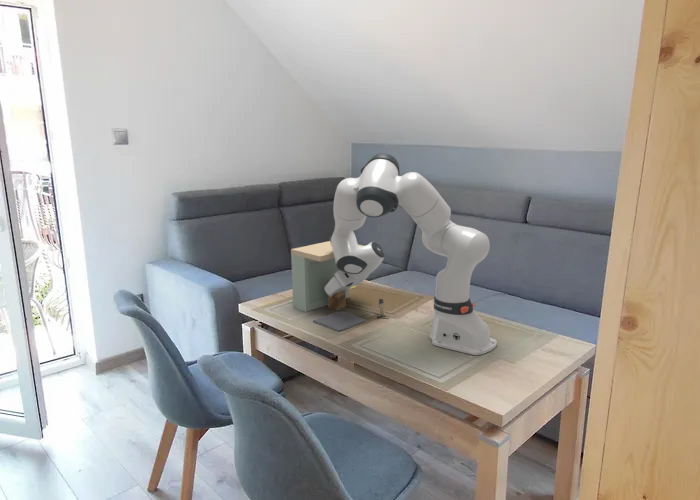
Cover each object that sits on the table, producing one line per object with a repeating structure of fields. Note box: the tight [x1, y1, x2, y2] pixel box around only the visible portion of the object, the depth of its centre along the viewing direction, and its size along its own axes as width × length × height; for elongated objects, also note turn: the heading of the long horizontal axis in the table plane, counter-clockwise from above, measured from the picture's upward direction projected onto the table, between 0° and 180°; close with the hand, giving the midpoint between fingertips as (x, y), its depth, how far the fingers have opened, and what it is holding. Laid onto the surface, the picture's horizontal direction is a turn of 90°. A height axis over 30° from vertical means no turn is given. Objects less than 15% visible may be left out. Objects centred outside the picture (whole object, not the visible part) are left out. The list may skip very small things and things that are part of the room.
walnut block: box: [327, 281, 347, 311], centre depth 199 cm, size 5×5×11 cm
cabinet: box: [290, 240, 364, 313], centre depth 201 cm, size 17×24×24 cm
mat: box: [312, 310, 367, 333], centre depth 185 cm, size 14×14×1 cm
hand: (335, 293), depth 199 cm, fingers closed on walnut block, 5 cm apart
